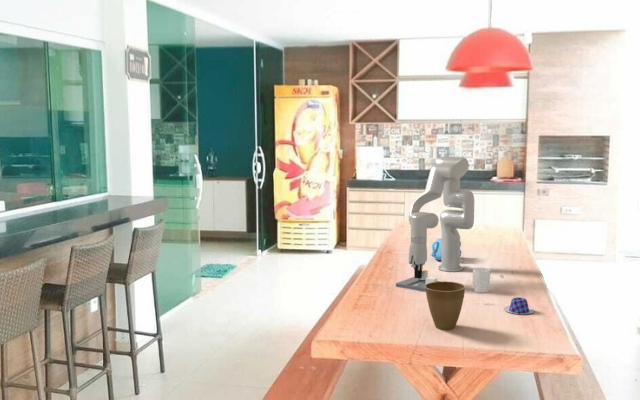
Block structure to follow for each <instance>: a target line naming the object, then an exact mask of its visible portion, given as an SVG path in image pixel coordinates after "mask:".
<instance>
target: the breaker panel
mask: <svg viewBox="0 0 640 400" xmlns="http://www.w3.org/2000/svg"><path fill="white" fill-rule="evenodd" d="M437 282H442V281H441V280H440V281H439V280H437ZM425 285H426V280H420V279H417V278H414V276H412V277H409V278H407V279H404V280H401V281H399V282H396V283H395V287H396V288H402V289H403V288H404V289H408V290H413V291H419V292H423V293H426V290H425Z"/></svg>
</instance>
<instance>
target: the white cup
mask: <svg viewBox="0 0 640 400" xmlns="http://www.w3.org/2000/svg"><path fill="white" fill-rule="evenodd" d="M490 282H491V269H489V268H487V267H475V268H472V284H473V291H474V292H475V293H481V294H483V293H489V291H490V285H491V284H490Z"/></svg>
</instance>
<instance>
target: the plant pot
mask: <svg viewBox="0 0 640 400" xmlns="http://www.w3.org/2000/svg"><path fill="white" fill-rule="evenodd" d="M425 290H426V292H425V295H426V301H427V305H428V309H429V312H430V316H431V318H432V321H433V324H434V326H435V328H437V329H438V330H443V331H445V330H447V331H449V330H452V329H455V328H456V326H457V323H458V320H459V318H460V314H461V311H462V307H463V304H464V298H465V291H466V286H465V284H463V283H460V282H454V281H441V282H432V283H428V284H426V285H425Z"/></svg>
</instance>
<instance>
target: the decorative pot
mask: <svg viewBox="0 0 640 400" xmlns="http://www.w3.org/2000/svg"><path fill="white" fill-rule="evenodd" d="M461 245H462V241H460V247H461ZM430 256H431V257H433V258H434V259H435V260H436V261H437V260H438V261H441V256H442V237H441V238H436V239H435V241H433V242H431V252H430ZM461 256H462V250H461V249H460V257H461Z"/></svg>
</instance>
